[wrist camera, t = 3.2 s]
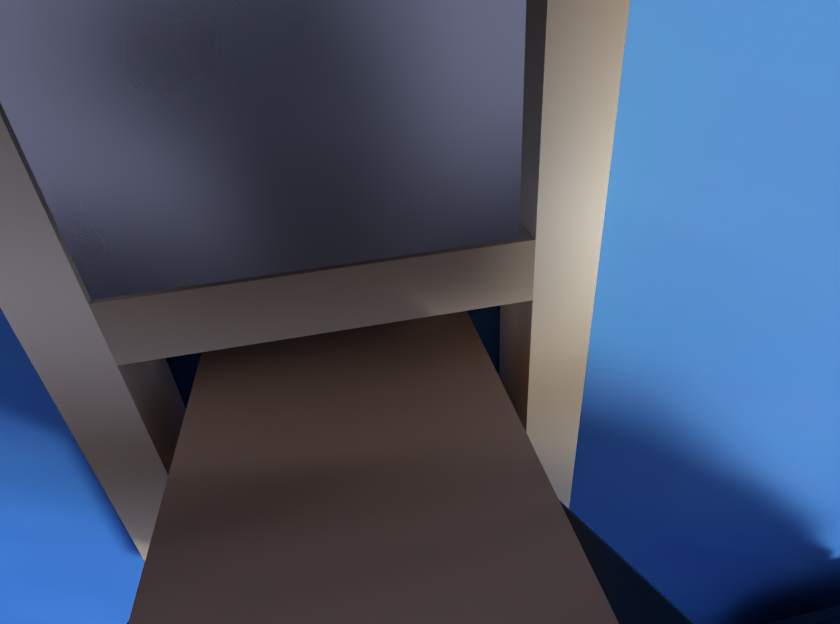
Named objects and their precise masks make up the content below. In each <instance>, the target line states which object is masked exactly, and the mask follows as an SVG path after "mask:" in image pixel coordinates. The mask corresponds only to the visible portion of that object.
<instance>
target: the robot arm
mask: <svg viewBox="0 0 840 624" xmlns="http://www.w3.org/2000/svg"><path fill="white" fill-rule="evenodd" d="M559 501H560V500H559ZM560 503H561V505H562V507H563V509H564V512H565V514H566V516H567V518H568V520H569V522H570V524H571V526H572V528H573V530H574V532H575V534H576V536H577V538H578V540H579V542H580V544H581V547H582V549H583V551H584V553H585V555H586V557H587V559H588V561H589V563H590V565H591V567H592V569H593V571H594V573H595V575H596V577H597V580H598V582H599V584H600V586H601V588H602V590H603V592H604V594H605V596H606V598H607V600H608V602H609V604H610V606H611V608H612V610H613V613H614V615H615V617H616V619H617V621H618V623H619V624H695V623H693V622H692V621H691V620H690V619H689V618H688V617H687V616H686V615H685V614H684V613H682V612H681V611H680V610H679V609H678V608H677V607H676V606H675V605H674V604H673V603H672V602H670V601H669V600H668V599H667V598H666V597H665V596H664V595H663V594H662V593H661V592H659V591H658V590H657V589H656V588H655V587H654V586H653V585H652V584H651V583H650V582H649V581H647V580H646V579H645V578H644V577H643V576H642V575H641V574H640V573H639V572H638V571H636V570H635V569H634V568H633V567H632V566H631V565H630V564H629V563H628V562H627V561H626V560H624V559H623V558H622V557H621V556H620V555H619V554H618V553H617V552H616V551H615V550H614V549H612V548H611V547H610V546H609V545H608V544H607V543H606V542H605V541H604V540H603V539H601V538H600V537H599V536H598V535H597V534H596V533H595V532H594V531H593V530H592V529H591V528H589V527H588V526H587V525H586V524H585V523H584V522H583V521H582V520H581V519H580V518H578V517H577V516H576V515H575V514H574V513H573V512H572V511H571V510H570V509H569V508H568V507H566V506H565V505H564V504H563V503H562V502H561V501H560ZM128 623H129V621H128ZM128 623H127V624H128ZM765 624H840V605H839V606H835V607H831V608H827V609H823V610H819V611H814V612H810V613H806V614H802V615H798V616H794V617H789V618H785V619H781V620H777V621H773V622H769V623H765Z"/></svg>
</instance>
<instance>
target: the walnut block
mask: <svg viewBox="0 0 840 624" xmlns="http://www.w3.org/2000/svg"><path fill="white" fill-rule="evenodd" d="M128 624H619V623H618V621H617V619H616V617H615V615H614V613H613V610H612V608H611V606H610V604H609V602H608V600H607V598H606V596H605V594H604V592H603V590H602V588H601V586H600V584H599V582H598V580H597V577H596V575H595V573H594V571H593V569H592V567H591V565H590V563H589V561H588V559H587V557H586V555H585V553H584V551H583V549H582V547H581V544H580V542H579V540H578V538H577V536H576V534H575V532H574V530H573V528H572V526H571V524H570V522H569V520H568V518H567V516H566V514H565V512H564V509H563V507H562V505H561V503H560V501H559V499H558V497H557V495H556V493H555V491H554V489H553V487H552V485H551V483H550V481H549V479H548V476H547V474H546V472H545V470H544V468H543V466H542V464H541V462H540V460H539V458H538V456H537V454H536V452H535V450H534V448H533V446H532V444H531V441H530V439H529V437H528V435H527V433H526V431H525V429H524V427H523V425H522V423H521V421H520V419H519V417H518V415H517V413H516V411H515V408H514V406H513V404H512V402H511V400H510V398H509V396H508V394H507V392H506V390H505V388H504V386H503V384H502V382H501V380H500V378H499V375H498V373H497V371H496V369H495V367H494V365H493V363H492V361H491V359H490V357H489V355H488V353H487V351H486V349H485V347H484V345H483V343H482V340H481V338H480V336H479V334H478V332H477V330H476V328H475V326H474V324H473V322H472V320H471V318H470V316H469V314H468V312H467V311H462V312H455V313H449V314H442V315H436V316H430V317H423V318H417V319H411V320H404V321H398V322H392V323H385V324H379V325H372V326H366V327H360V328H353V329H347V330H341V331H334V332H328V333H322V334H315V335H309V336H303V337H296V338H290V339H283V340H277V341H271V342H264V343H258V344H252V345H245V346H239V347H233V348H226V349H220V350H213V351H207V352H202V353H201V357H200V360H199V364H198V368H197V371H196V375H195V379H194V382H193V386H192V390H191V394H190V397H189V401H188V405H187V408H186V412H185V416H184V419H183V423H182V427H181V431H180V434H179V438H178V442H177V445H176V449H175V453H174V456H173V460H172V464H171V468H170V471H169V475H168V479H167V482H166V486H165V490H164V493H163V497H162V501H161V505H160V508H159V512H158V516H157V519H156V523H155V527H154V530H153V534H152V538H151V542H150V545H149V549H148V553H147V556H146V560H145V564H144V568H143V571H142V575H141V579H140V582H139V586H138V590H137V593H136V597H135V601H134V605H133V608H132V612H131V616H130V619H129V623H128Z"/></svg>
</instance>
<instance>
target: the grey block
mask: <svg viewBox="0 0 840 624" xmlns="http://www.w3.org/2000/svg"><path fill="white" fill-rule="evenodd" d="M525 29H526V0H0V102H1V105H2V107H3V109H4V111H5V113H6V115H7V118H8V120H9V122H10V124H11V126H12V128H13V131H14V133H15V135H16V137H17V139H18V142H19V144H20V146H21V148H22V150H23V152H24V155H25V157H26V159H27V161H28V163H29V166H30V168H31V170H32V172H33V174H34V176H35V179H36V181H37V183H38V185H39V187H40V189H41V192H42V194H43V196H44V198H45V200H46V203H47V205H48V207H49V209H50V211H51V213H52V216H53V218H54V220H55V222H56V224H57V226H58V229H59V231H60V233H61V235H62V237H63V240H64V242H65V244H66V246H67V248H68V250H69V253H70V255H71V257H72V259H73V261H74V264H75V266H76V268H77V270H78V272H79V274H80V277H81V279H82V281H83V283H84V285H85V287H86V290H87V292H88V294H89V296H90V298H91V300H96V299H103V298H110V297H117V296H124V295H131V294H138V293H145V292H152V291H159V290H166V289H173V288H180V287H187V286H194V285H201V284H208V283H215V282H222V281H228V280H235V279H242V278H249V277H256V276H263V275H270V274H277V273H284V272H291V271H298V270H305V269H312V268H319V267H326V266H333V265H340V264H347V263H354V262H361V261H368V260H375V259H382V258H389V257H396V256H403V255H410V254H417V253H424V252H431V251H438V250H445V249H452V248H459V247H466V246H473V245H480V244H487V243H494V242H501V241H508V240H515V239H519V220H520V188H521V156H522V125H523V93H524V61H525Z"/></svg>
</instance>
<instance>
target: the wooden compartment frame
mask: <svg viewBox="0 0 840 624" xmlns="http://www.w3.org/2000/svg"><path fill="white" fill-rule="evenodd" d="M629 7H630V0H526V29H525V61H524V93H523V125H522V156H521V188H520V220H519V239H515V240H508V241H501V242H494V243H487V244H480V245H473V246H466V247H459V248H452V249H445V250H438V251H431V252H424V253H417V254H410V255H403V256H396V257H389V258H382V259H375V260H368V261H361V262H354V263H347V264H340V265H333V266H326V267H319V268H312V269H305V270H298V271H291V272H284V273H277V274H270V275H263V276H256V277H249V278H242V279H235V280H228V281H222V282H215V283H208V284H201V285H194V286H187V287H180V288H173V289H166V290H159V291H152V292H145V293H138V294H131V295H124V296H117V297H110V298H103V299H96V300H91V298H90V296H89V294H88V292H87V290H86V287H85V285H84V283H83V281H82V279H81V277H80V274H79V272H78V270H77V268H76V266H75V264H74V261H73V259H72V257H71V255H70V253H69V250H68V248H67V246H66V244H65V242H64V240H63V237H62V235H61V233H60V231H59V229H58V226H57V224H56V222H55V220H54V218H53V216H52V213H51V211H50V209H49V207H48V205H47V203H46V200H45V198H44V196H43V194H42V192H41V189H40V187H39V185H38V183H37V181H36V179H35V176H34V174H33V172H32V170H31V168H30V166H29V163H28V161H27V159H26V157H25V155H24V152H23V150H22V148H21V146H20V144H19V142H18V139H17V137H16V135H15V133H14V131H13V128H12V126H11V124H10V122H9V120H8V118H7V115H6V113H5V111H4V109H3V107H2V105H1V102H0V308H1V310H2V312H3V313H4V315H5V317H6V319H7V320H8V322H9V324H10V326H11V327H12V329H13V331H14V333H15V334H16V336H17V338H18V340H19V341H20V343H21V345H22V347H23V349H24V350H25V352H26V354H27V356H28V357H29V359H30V361H31V363H32V364H33V366H34V368H35V370H36V371H37V373H38V375H39V377H40V378H41V380H42V382H43V384H44V385H45V387H46V389H47V391H48V392H49V394H50V396H51V398H52V399H53V401H54V403H55V405H56V406H57V408H58V410H59V412H60V414H61V415H62V417H63V419H64V421H65V422H66V424H67V426H68V428H69V429H70V431H71V433H72V435H73V436H74V438H75V440H76V442H77V443H78V445H79V447H80V449H81V450H82V452H83V454H84V456H85V457H86V459H87V461H88V463H89V464H90V466H91V468H92V470H93V472H94V473H95V475H96V477H97V479H98V480H99V482H100V484H101V486H102V487H103V489H104V491H105V493H106V494H107V496H108V498H109V500H110V501H111V503H112V505H113V507H114V508H115V510H116V512H117V514H118V515H119V517H120V519H121V521H122V522H123V524H124V526H125V528H126V529H127V531H128V533H129V535H130V537H131V538H132V540H133V542H134V544H135V545H136V547H137V549H138V551H139V552H140V554H141V556H142V558H143V559H144V561H145V560H146V556H147V553H148V549H149V545H150V542H151V538H152V534H153V530H154V527H155V523H156V519H157V516H158V512H159V508H160V505H161V501H162V497H163V493H164V490H165V486H166V482H167V479H168V475H169V471H170V468H171V464H172V460H173V456H174V453H175V449H176V445H177V442H178V438H179V434H180V431H181V427H182V423H183V419H184V416H185V412H186V408H185V405H184V403H183V400H182V398H181V395H180V393H179V390H178V388H177V385H176V383H175V380H174V378H173V375H172V373H171V370H170V368H169V365H168V363H167V360H166V358H169V357H175V356H182V355H188V354H194V353H201V352H207V351H213V350H220V349H226V348H233V347H239V346H245V345H252V344H258V343H264V342H271V341H277V340H283V339H290V338H296V337H303V336H309V335H315V334H322V333H328V332H334V331H341V330H347V329H353V328H360V327H366V326H372V325H379V324H385V323H392V322H398V321H404V320H411V319H417V318H423V317H430V316H436V315H442V314H449V313H455V312H462V311H468V310H474V309H481V308H487V307H493V306H500V355H499V378H500V380H501V382H502V384H503V386H504V388H505V390H506V392H507V394H508V396H509V398H510V400H511V402H512V404H513V406H514V408H515V411H516V413H517V415H518V417H519V419H520V421H521V423H522V425H523V427H524V429H525V431H526V433H527V435H528V437H529V439H530V441H531V444H532V446H533V448H534V450H535V452H536V454H537V456H538V458H539V460H540V462H541V464H542V466H543V468H544V470H545V472H546V474H547V476H548V479H549V481H550V483H551V485H552V487H553V489H554V491H555V493H556V495H557V497H558V499H559V500H560V501H561V502H562V503H563V504H564V505H565V506H566V507H568V508H569V506H570V497H571V489H572V481H573V472H574V464H575V456H576V447H577V439H578V431H579V423H580V414H581V406H582V398H583V389H584V381H585V373H586V364H587V356H588V348H589V339H590V331H591V323H592V314H593V306H594V298H595V290H596V281H597V273H598V265H599V256H600V248H601V240H602V231H603V223H604V215H605V206H606V198H607V190H608V181H609V173H610V165H611V156H612V148H613V140H614V132H615V123H616V115H617V107H618V98H619V90H620V82H621V73H622V65H623V57H624V48H625V40H626V32H627V23H628V15H629Z"/></svg>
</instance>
